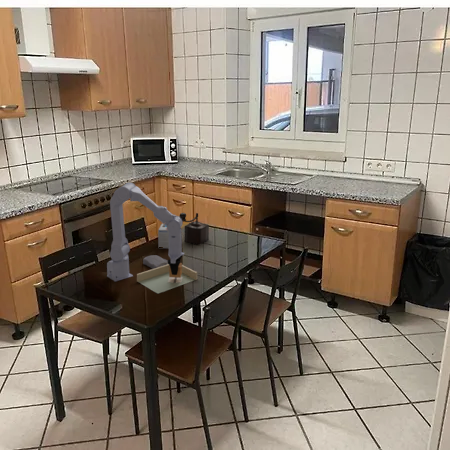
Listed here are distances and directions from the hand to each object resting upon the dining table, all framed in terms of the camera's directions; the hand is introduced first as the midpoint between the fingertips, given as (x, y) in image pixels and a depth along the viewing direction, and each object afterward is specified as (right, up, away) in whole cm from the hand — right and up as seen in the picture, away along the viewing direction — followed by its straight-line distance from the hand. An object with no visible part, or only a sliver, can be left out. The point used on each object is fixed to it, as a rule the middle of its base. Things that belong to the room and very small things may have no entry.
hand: (175, 271), depth 201 cm
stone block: (-11, +1, +18) cm, 21 cm away
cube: (0, -1, 0) cm, 2 cm away
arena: (-4, -4, +1) cm, 6 cm away
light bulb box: (-10, +10, +45) cm, 47 cm away
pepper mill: (+5, +12, +50) cm, 52 cm away
